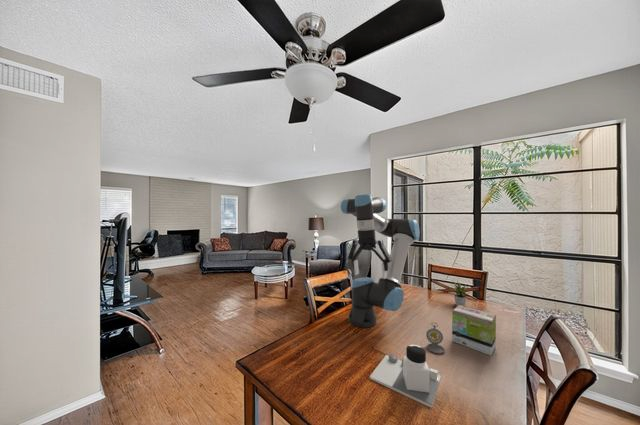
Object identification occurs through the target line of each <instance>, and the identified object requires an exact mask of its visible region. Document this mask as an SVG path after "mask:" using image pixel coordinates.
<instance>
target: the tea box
mask: <svg viewBox="0 0 640 425" xmlns="http://www.w3.org/2000/svg"><path fill="white" fill-rule="evenodd" d="M451 314H452V315H451V316H452V321H451V322H452V326H451V339H452V342H453V343H456V344H459V345H462V346H464V347H467V348H470V349H472V350H475V351H477V352H480V353H483V354H484V355H485V354H486V355H487V356H490V357H492V355H493V352H494V350H495V349H496V339H497V336H496V335H497V334H496V333H497V332H496V331H497V328H496V326H497V315H496V314H495V313H492V312H491V313H490V312H487V311H484V310H483V311H482V310H479V309H475V308H472V307H468V306H466V305H465V306H461V305H458V306H456V307H455V308H454V309H453V310H452V313H451Z"/></svg>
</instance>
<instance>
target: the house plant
mask: <svg viewBox="0 0 640 425" xmlns="http://www.w3.org/2000/svg"><path fill="white" fill-rule="evenodd" d="M451 281H452V282H453V283H452V286H453V288H452V289H451V288H450V292H455V294H453V298H454V303H455V306H456V307H457V306H458V305H461V306H465V307H466V303H467V296H466V295H467V293H470V291H468V290H465V289H468V288H469V287H471V286H473V285H471V284H470V285H468V284H467V283H466V284H465V285H463V286H462V283H461V282H459V281H458V280H457V281H454V279H451ZM448 284H451V282H448ZM467 285H468V286H467ZM461 286H462V287H461Z"/></svg>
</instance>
